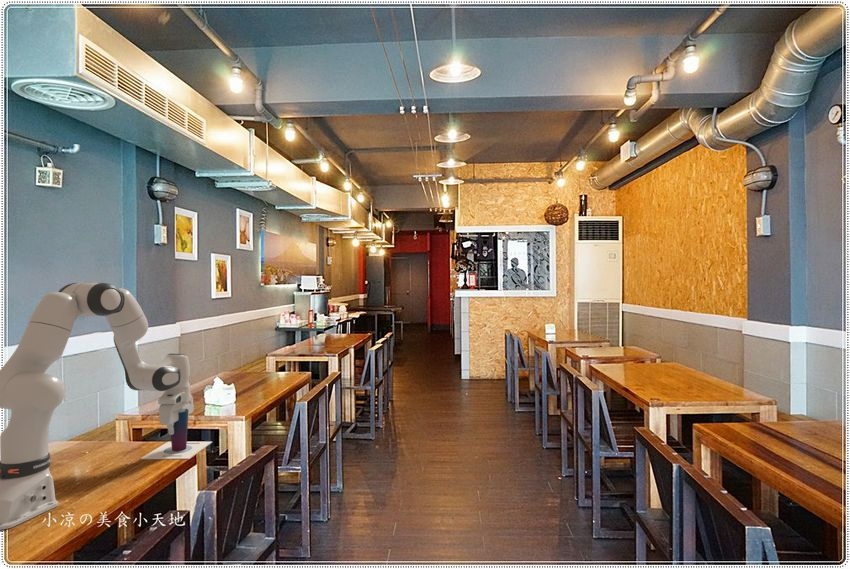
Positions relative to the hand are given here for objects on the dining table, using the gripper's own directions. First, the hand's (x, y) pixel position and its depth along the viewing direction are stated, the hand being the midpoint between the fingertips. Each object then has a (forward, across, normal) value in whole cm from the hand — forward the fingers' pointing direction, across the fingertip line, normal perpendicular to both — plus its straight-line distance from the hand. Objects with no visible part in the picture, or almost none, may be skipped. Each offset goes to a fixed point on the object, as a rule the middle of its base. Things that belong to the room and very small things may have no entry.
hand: (177, 430), depth 200 cm
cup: (+7, 0, 0) cm, 7 cm away
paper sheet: (+8, 0, 0) cm, 8 cm away
